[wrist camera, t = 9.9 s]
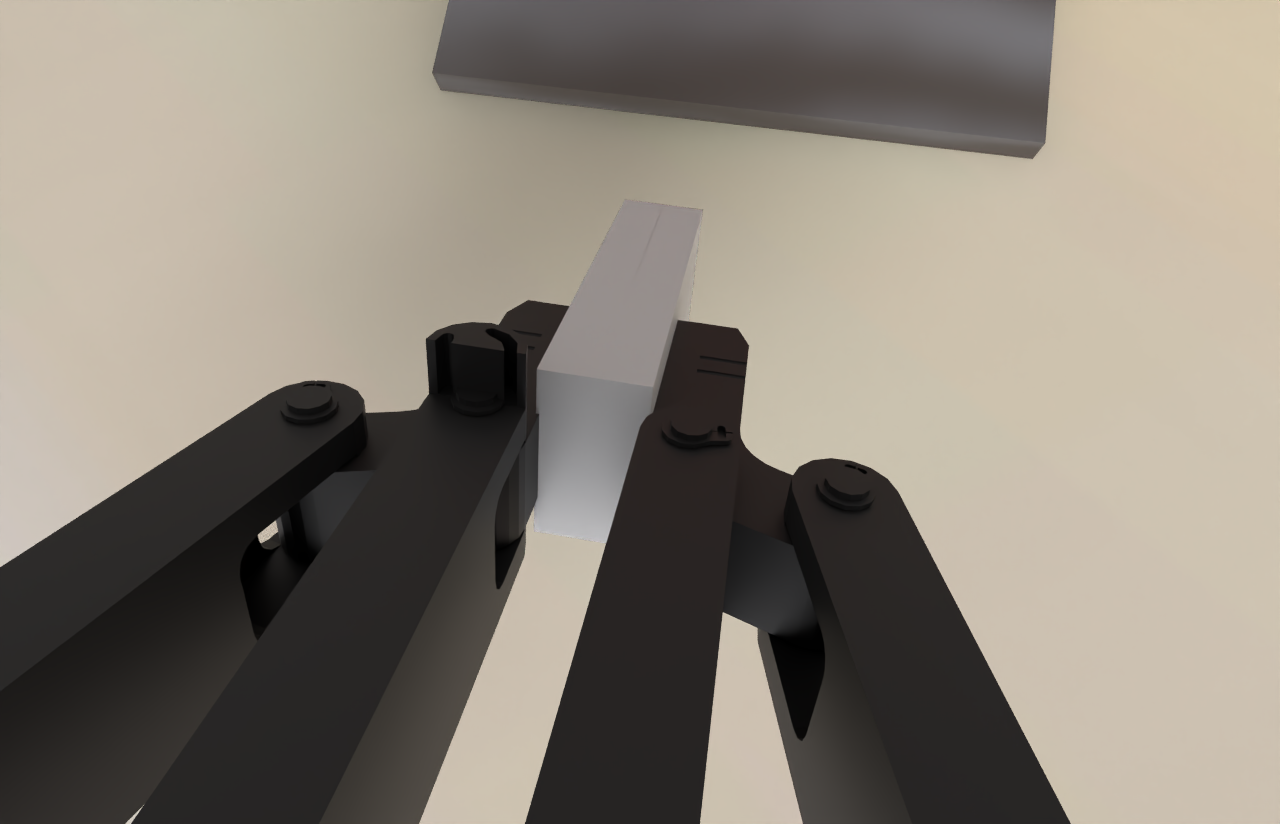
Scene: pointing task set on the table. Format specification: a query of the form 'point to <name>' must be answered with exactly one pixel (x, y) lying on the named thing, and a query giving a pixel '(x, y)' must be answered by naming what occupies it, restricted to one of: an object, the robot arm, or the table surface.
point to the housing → (773, 64)
